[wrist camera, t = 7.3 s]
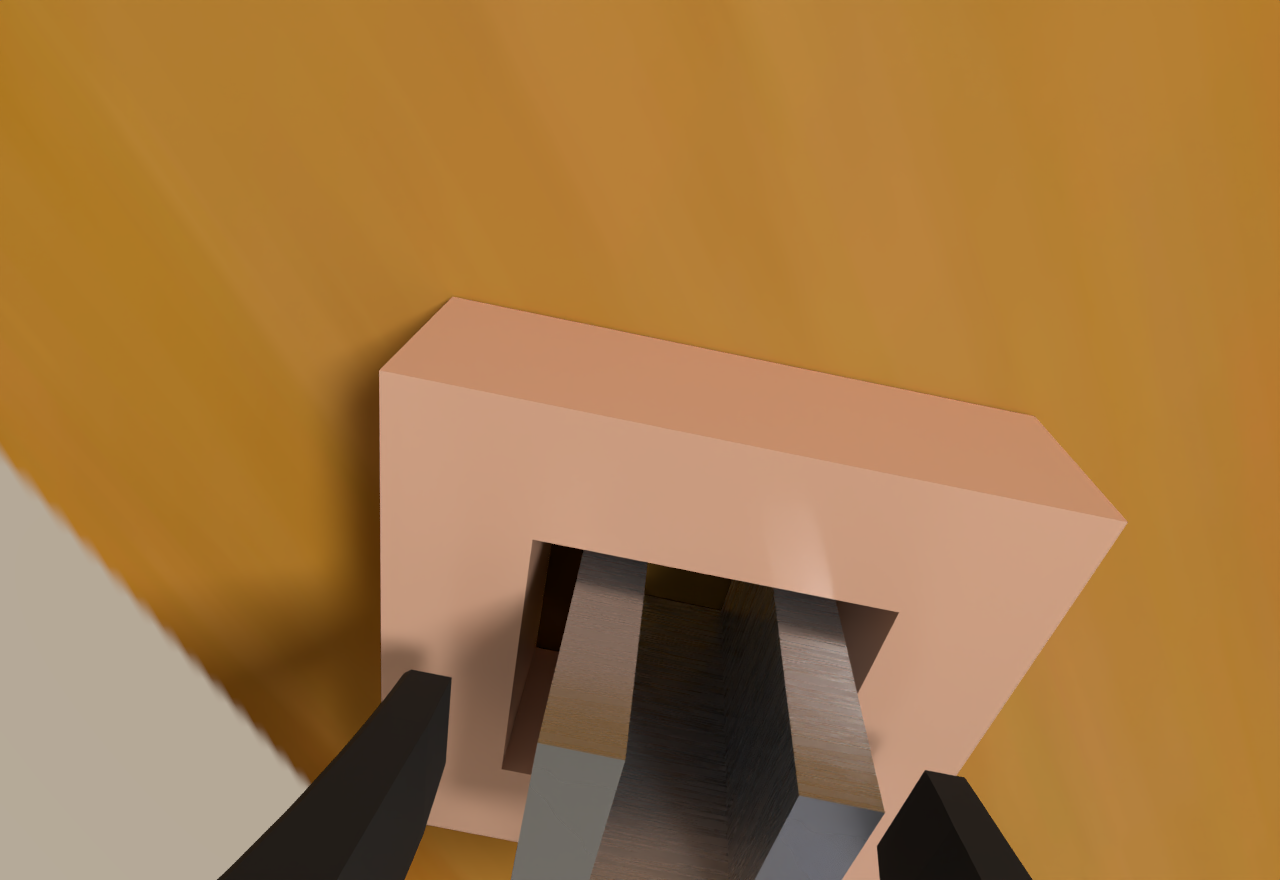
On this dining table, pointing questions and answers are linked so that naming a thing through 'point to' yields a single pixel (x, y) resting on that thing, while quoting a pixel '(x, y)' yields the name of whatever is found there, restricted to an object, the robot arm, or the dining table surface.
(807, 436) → the well
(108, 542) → the dining table surface
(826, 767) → the bracket
